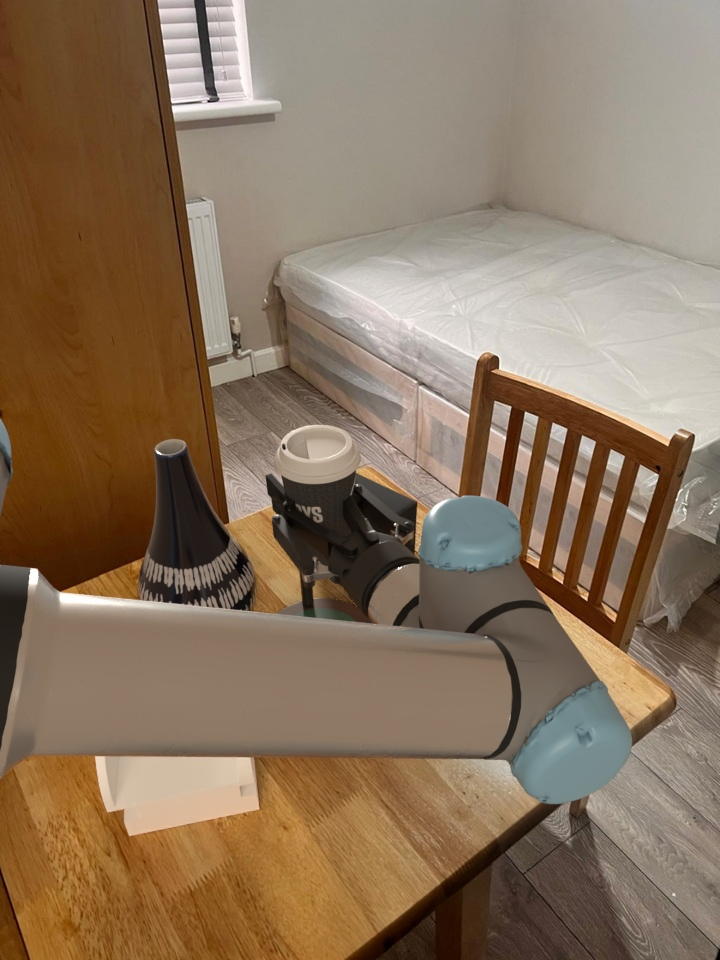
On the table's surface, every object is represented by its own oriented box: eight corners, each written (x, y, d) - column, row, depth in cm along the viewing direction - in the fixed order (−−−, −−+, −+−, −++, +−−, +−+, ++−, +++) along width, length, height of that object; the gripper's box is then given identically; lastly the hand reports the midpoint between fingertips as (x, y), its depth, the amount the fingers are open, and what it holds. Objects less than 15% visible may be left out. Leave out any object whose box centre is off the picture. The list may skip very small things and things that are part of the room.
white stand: (126, 861, 75) (85, 756, 65) (132, 754, 86) (97, 649, 75) (263, 832, 78) (244, 726, 67) (252, 731, 88) (234, 626, 78)
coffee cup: (297, 520, 93) (287, 417, 84) (370, 528, 91) (368, 425, 82) (273, 569, 85) (260, 462, 77) (353, 580, 83) (348, 472, 75)
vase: (285, 618, 103) (266, 440, 86) (197, 688, 93) (156, 503, 77) (212, 570, 112) (181, 401, 95) (124, 630, 102) (73, 452, 85)
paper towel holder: (395, 682, 93) (396, 602, 85) (271, 712, 90) (260, 632, 82) (361, 598, 106) (359, 521, 98) (251, 621, 102) (240, 544, 94)
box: (417, 562, 112) (419, 500, 106) (389, 585, 108) (389, 522, 101) (336, 519, 122) (333, 459, 115) (308, 538, 118) (303, 478, 111)
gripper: (321, 656, 69) (224, 526, 85) (466, 587, 76) (350, 480, 92) (317, 598, 64) (215, 473, 81) (470, 531, 71) (348, 429, 88)
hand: (288, 477), depth 87 cm, fingers closed on coffee cup, 4 cm apart
